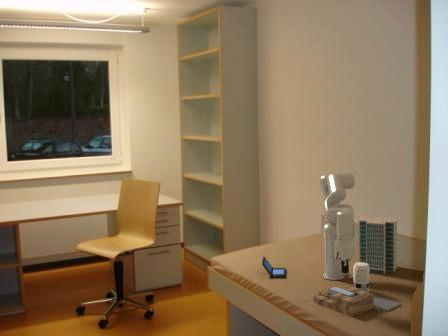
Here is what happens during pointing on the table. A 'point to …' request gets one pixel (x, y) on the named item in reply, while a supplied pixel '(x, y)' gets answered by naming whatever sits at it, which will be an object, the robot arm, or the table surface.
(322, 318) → the table surface
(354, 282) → the supplement can
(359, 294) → the jig
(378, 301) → the mat
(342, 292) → the bar
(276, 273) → the game console
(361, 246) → the building model
